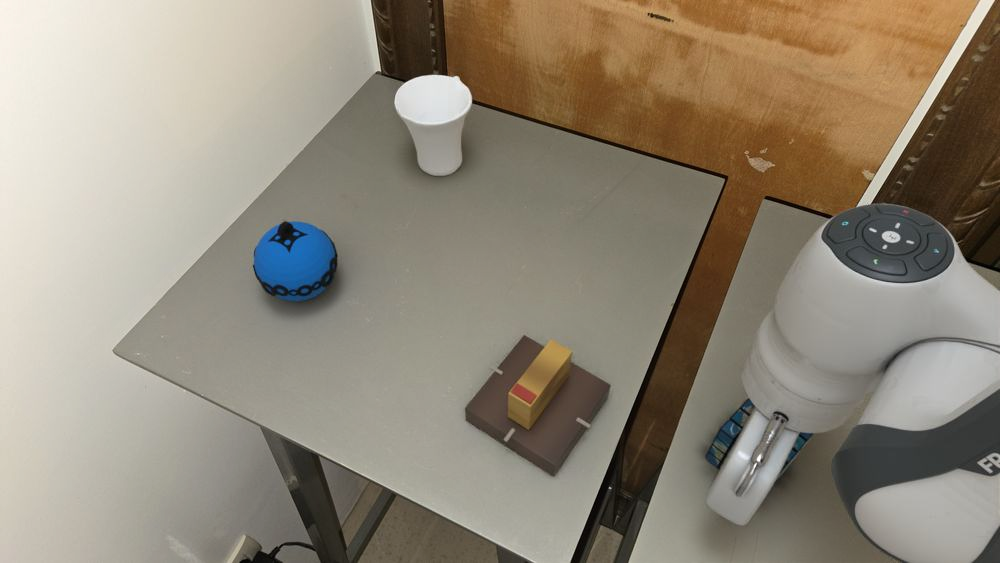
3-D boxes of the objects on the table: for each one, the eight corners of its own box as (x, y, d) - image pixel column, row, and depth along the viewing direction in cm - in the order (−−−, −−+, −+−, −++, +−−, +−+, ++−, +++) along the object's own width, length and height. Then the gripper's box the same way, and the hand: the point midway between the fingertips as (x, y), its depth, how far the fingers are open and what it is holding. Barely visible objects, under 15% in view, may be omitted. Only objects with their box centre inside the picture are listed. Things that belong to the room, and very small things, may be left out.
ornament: (309, 330, 79) (288, 271, 71) (247, 295, 81) (220, 235, 73) (360, 275, 83) (345, 213, 75) (299, 243, 86) (279, 181, 78)
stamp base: (616, 396, 74) (620, 382, 72) (555, 485, 68) (557, 474, 66) (521, 341, 78) (522, 326, 76) (456, 421, 72) (455, 408, 70)
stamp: (548, 363, 73) (551, 336, 70) (569, 376, 72) (573, 349, 69) (507, 416, 70) (507, 391, 66) (528, 430, 69) (530, 405, 65)
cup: (490, 155, 95) (489, 91, 87) (440, 197, 90) (434, 133, 82) (437, 125, 98) (432, 60, 90) (387, 163, 94) (377, 99, 86)
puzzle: (795, 459, 70) (816, 430, 65) (758, 502, 68) (778, 475, 63) (741, 417, 73) (758, 386, 68) (703, 457, 70) (719, 428, 65)
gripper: (792, 502, 51) (740, 564, 62) (887, 303, 62) (827, 387, 73) (708, 453, 54) (671, 521, 65) (813, 268, 64) (766, 354, 75)
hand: (754, 449), depth 69 cm, fingers closed on puzzle, 6 cm apart
